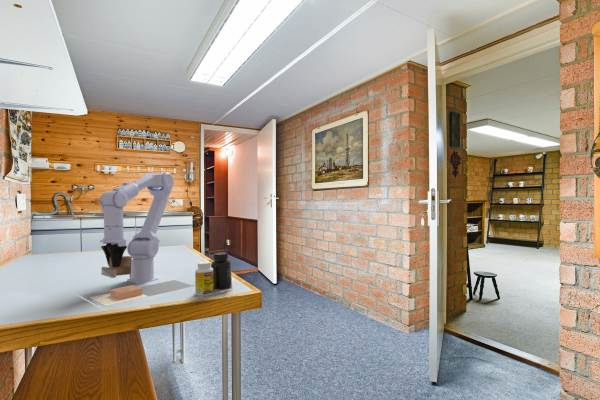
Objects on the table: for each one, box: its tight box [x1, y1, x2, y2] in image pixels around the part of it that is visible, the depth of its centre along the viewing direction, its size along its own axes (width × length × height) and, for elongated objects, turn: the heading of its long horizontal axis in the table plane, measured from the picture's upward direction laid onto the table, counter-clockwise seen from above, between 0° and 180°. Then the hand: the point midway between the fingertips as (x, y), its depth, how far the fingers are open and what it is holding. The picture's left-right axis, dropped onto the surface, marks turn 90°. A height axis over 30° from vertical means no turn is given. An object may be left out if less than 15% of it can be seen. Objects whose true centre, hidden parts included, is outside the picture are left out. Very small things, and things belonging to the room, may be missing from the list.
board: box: [89, 279, 194, 307], centre depth 106 cm, size 14×28×1 cm, turn 140°
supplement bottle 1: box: [194, 260, 214, 297], centre depth 103 cm, size 6×6×10 cm
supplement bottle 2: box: [211, 251, 233, 290], centre depth 110 cm, size 7×7×12 cm
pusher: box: [100, 255, 133, 279], centre depth 110 cm, size 7×9×6 cm
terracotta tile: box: [109, 284, 143, 300], centre depth 102 cm, size 7×7×2 cm
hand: (114, 266), depth 109 cm, fingers closed on pusher, 3 cm apart
